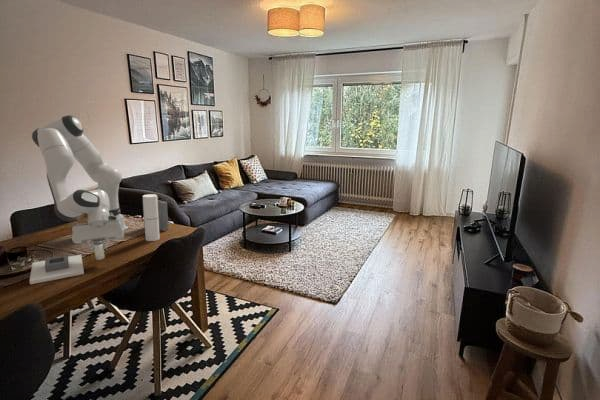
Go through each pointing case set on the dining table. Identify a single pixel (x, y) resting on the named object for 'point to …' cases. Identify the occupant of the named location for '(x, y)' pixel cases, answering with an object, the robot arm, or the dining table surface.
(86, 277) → the dining table surface
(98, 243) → the plug
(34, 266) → the socket block
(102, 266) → the dining table surface
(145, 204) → the cylindrical container
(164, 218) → the hip flask
